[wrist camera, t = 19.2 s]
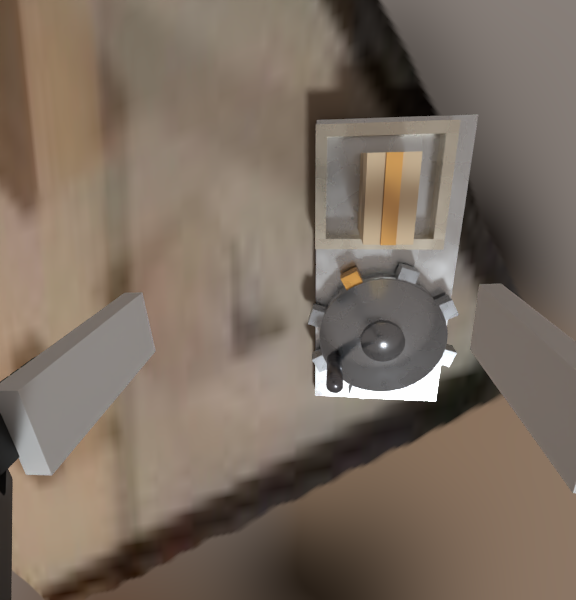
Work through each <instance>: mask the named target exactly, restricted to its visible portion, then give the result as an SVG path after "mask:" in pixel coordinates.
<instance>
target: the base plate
mask: <svg viewBox="0 0 576 600" xmlns="http://www.w3.org/2000/svg"><path fill="white" fill-rule="evenodd" d="M477 119H478V114H474V115H446V116H416V117H388V118H359V119H330V120H317V124H316V174H315V249H316V304H317V305H320V306H324V307H326V305H327V304H328V302H329V301H330V299H331V298H332V297H333V296H334V294H335V293H336V292H338V291H339V290H340V289H341V288H342V287H344V285H343V283H342V281H341V278H340V274H342V273H344V272H346V271H348V270H350V269H352V268H354V267H357V269H358V271H359V273H360V275H361V277H365V276H369V275H375V274H392V275H395V273H396V270H397V268H398V266H399V263H401V264H405V265H408V266H411V267H414V268H417V269H418V271H419V272H420V275H419V277H418V279H417V281H416V283H418V284H419V285H420V286H422V287H423V288H424V289H425V290H426V291H428V292H429V293H430V295H431V296H432V297H433V299H434V300H435V299H438V298H440V297H442V296H445V295H447V294H448V296H449V297H450V298H451V295H452V288H453V281H454V274H455V268H456V261H457V254H458V247H459V241H460V234H461V227H462V221H463V214H464V207H465V200H466V194H467V187H468V180H469V173H470V167H471V160H472V153H473V147H474V139H475V133H476V126H477ZM416 151H423V152H422V162H421V172H420V182H419V192H418V202H417V212H416V222H415V232H414V241H413V245H363V244H362V241H361V238H360V235H359V232H358V229H357V228H358V206H359V183H360V160H361V153H379V152H416ZM447 321H448V320H446V325H447ZM319 335H320V328H319V327H316V344H315V351H317V350H319V349H321V347H320V336H319ZM440 369H441V364H437V365H436V367H435V368H434V369H433V370H432V371H431V372H430V373H429V374H428V375H427V376H426V377H424V378H423V379H422V380H420V381H418V382H417V383H416V385H417V388H418V390H419V392H418V393H416V394H413V395H410V396H408V397H405V398H403V396H402V394H401V392H400V390H394V391H386V392H375V391H368V392H367V394H366V396H365V398H377V399H398V400H419V401H436V395H437V389H438V382H439V375H440ZM326 380H327V370H324V371H322V372H319V371H318V369H317V367H316V366H315V396H336V397H355V396H352V395H349V390H348V386H349V384H348V383H346V382H345V381H343V389H342V390H341V391H340V392H338V393H332V392H330V391H328V389H327V387H326ZM357 398H359V397H357Z"/></svg>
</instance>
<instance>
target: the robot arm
mask: <svg viewBox="0 0 576 600" xmlns="http://www.w3.org/2000/svg"><path fill="white" fill-rule="evenodd" d="M470 350H471V351H472V353H473V354H474V356H475V357H476V358H477V360H478V361H479V363H480V364H481V365H482V367H483V368H484V370H485V371H486V372H487V374H488V375H489V377H490V378H491V379H492V381H493V382H494V384H495V385H496V386H497V388H498V389H499V391H500V392H501V393H502V395H503V396H504V398H505V399H506V400H507V402H508V403H509V405H510V406H511V407H512V409H513V410H514V412H515V413H516V414H517V416H518V417H519V418H520V420H521V421H522V423H523V424H524V425H525V427H526V428H527V429H528V431H529V432H530V434H531V435H532V437H533V438H534V439H535V441H536V442H537V444H538V445H539V446H540V448H541V449H542V450H543V452H544V453H545V455H546V456H547V458H548V459H549V460H550V462H551V463H552V465H553V466H554V467H555V469H556V470H557V472H558V473H559V474H560V476H561V477H562V479H563V480H564V481H565V483H566V484H567V486H568V487H569V488H570V490H571V491H572V493H576V341H574V340H573V339H572V338H570V337H569V336H568V335H567V334H565V333H564V332H563V331H561V330H560V329H559V328H558V327H556V326H555V325H554V324H552V323H551V322H550V321H549V320H547V319H546V318H545V317H543V316H542V315H541V314H540V313H538V312H537V311H536V310H534V309H533V308H532V307H530V306H529V305H528V304H527V303H525V302H524V301H523V300H521V299H520V298H519V297H518V296H516V295H515V294H514V293H512V292H511V291H510V290H509V289H507V288H506V287H505V286H503V285H502V284H479V290H478V297H477V304H476V311H475V318H474V325H473V332H472V339H471V346H470ZM154 352H155V347H154V342H153V338H152V333H151V329H150V325H149V320H148V316H147V311H146V307H145V302H144V298H143V293H142V292H140V293H124V294H122V295H121V296H120V297H118V298H117V299H115V300H114V301H113V302H111V303H110V304H109V305H107V306H106V307H104V308H103V309H102V310H100V311H99V312H97V313H96V314H95V315H93V316H92V317H91V318H89V319H88V320H86V321H85V322H84V323H82V324H81V325H79V326H78V327H77V328H75V329H74V330H73V331H71V332H70V333H68V334H67V335H66V336H64V337H63V338H62V339H60V340H59V341H57V342H56V343H55V344H53V345H52V346H50V347H49V348H48V349H46V350H45V351H44V352H42V353H41V354H39V355H38V356H36V357H34V358H33V359H31V360H30V361H28V362H27V363H26V364H24V365H23V366H21V368H20V369H17V370H16V371H14V372H13V373H12V374H10V376H9V377H6V378H5V379H3V380H2V381H1V382H0V600H11V572H12V477H11V474H10V472H9V470H8V468H9V467H10V466H11V465H12V464H13V463H14V462H15V461H16V460H17V459H18V458H19V460H20V462H21V464H22V466H23V469H24V471H25V473H26V474H27V475H53V473H54V472H55V471H56V470H57V469H58V467H59V466H60V465H61V464H62V463H63V461H64V460H65V459H66V458H67V457H68V455H69V454H70V453H71V452H72V451H73V449H74V448H75V447H76V446H77V445H78V443H79V442H80V441H81V440H82V439H83V437H84V436H85V435H86V434H87V433H88V431H89V430H90V429H91V428H92V427H93V425H94V424H95V423H96V422H97V421H98V419H99V418H100V417H101V416H102V415H103V414H104V412H105V411H106V410H107V409H108V408H109V406H110V405H111V404H112V403H113V402H114V400H115V399H116V398H117V397H118V396H119V394H120V393H121V392H122V391H123V390H124V388H125V387H126V386H127V385H128V384H129V382H130V381H131V380H132V379H133V378H134V376H135V375H136V374H137V373H138V372H139V370H140V369H141V368H142V367H143V366H144V364H145V363H146V362H147V361H148V360H149V358H150V357H151V356H152V355H153V354H154Z"/></svg>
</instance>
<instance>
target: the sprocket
mask: <svg viewBox="0 0 576 600" xmlns="http://www.w3.org/2000/svg"><path fill="white" fill-rule="evenodd" d="M419 275H420V272H419V271H418V269H417V268H414V267H411V266H408V265H405V264H401V263H399V266H398V268H397V270H396V273H395V275H392V274H375V275H369V276H365V277H361V275H360V273H359V271H358V269H357V267H354V268H352V269H350V270H348V271H346V272H344V273H342V274H340V278H341V281H342V283H343V285H344V287H342V288H341V289H340V290H339V291H338V292H336V293H335V294H334V296H333V297H332V298H331V299H330V301H329V302H328V304H327V305H326V307H324V306H320V305H317V304H313V307H312V310H311V313H310V316H309V320H308V324H309V325H312V326H316V327H319V328H320V335H319V336H320V347H321V349H319V350H317V351H315V352H313V353H312V361H313V362H314V364H315V366H316V367H317V369H318V371H319V372H322V371H324V370H327V380H326V387H327V389H328V391H330V392H332V393H338V392H340V391H341V390H342V389H343V381H345V382H346V383H348V384H349V386H348V390H349V395H352V396H355V397H359V398H362V399H364V398H365V396H366V394H367V392H368V391H375V392H386V391H394V390H400V392H401V394H402V396H403V398H405V397H408V396H410V395H413V394H416V393H418V392H419V390H418V388H417V385H416V383H417V382H418V381H420V380H422V379H423V378H424V377H426V376H427V375H428V374H429V373H430V372H431V371H432V370H433V369H434V368H435V367H436V365H437V364H441V365H444V366H447V367H450V365H451V363H452V361H453V359H454V357H455V356H456V354H457V352H456V351H455V349H454V348H453V346H452V345H449V344H447V325H446V320H448V319H450V318H453V317H455V316H458V315H459V314H458V312H457V310H456V308H455V305H454V303H453V301H452V299H451V298H450V297H449V296H448V294H447V295H445V296H442V297H440V298H438V299H435V300H434V299H433V297H432V296H431V295H430V293H429V292H428V291H426V290H425V289H424V288H423V287H422V286H420V285H419V284H418V283H416V281H417V279H418V277H419Z"/></svg>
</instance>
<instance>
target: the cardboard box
mask: <svg viewBox="0 0 576 600" xmlns="http://www.w3.org/2000/svg"><path fill="white" fill-rule="evenodd" d="M422 152H423V151H416V152H379V153H361V160H360V183H359V206H358V228H357V229H358V232H359V235H360V238H361V241H362V244H363V245H413V241H414V232H415V222H416V212H417V202H418V192H419V182H420V172H421V162H422Z"/></svg>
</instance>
